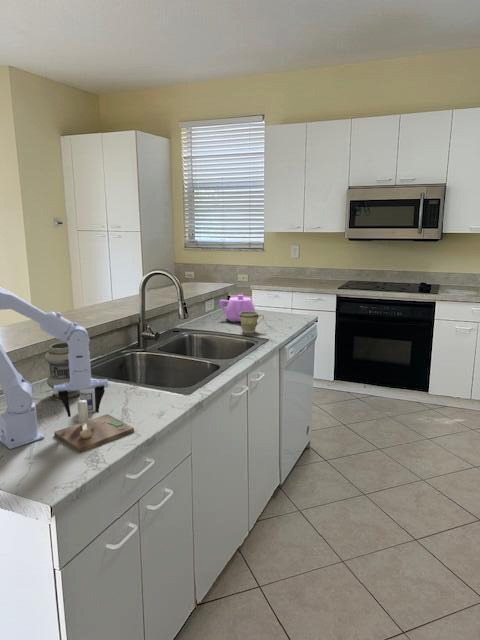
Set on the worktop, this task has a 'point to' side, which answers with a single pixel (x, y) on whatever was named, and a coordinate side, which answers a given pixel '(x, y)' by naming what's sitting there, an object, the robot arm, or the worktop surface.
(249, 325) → the ceramic cup
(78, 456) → the worktop surface
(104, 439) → the tuner board
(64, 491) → the worktop surface
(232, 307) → the teapot
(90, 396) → the pill bottle
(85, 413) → the peg lever
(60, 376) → the apothecary jar
